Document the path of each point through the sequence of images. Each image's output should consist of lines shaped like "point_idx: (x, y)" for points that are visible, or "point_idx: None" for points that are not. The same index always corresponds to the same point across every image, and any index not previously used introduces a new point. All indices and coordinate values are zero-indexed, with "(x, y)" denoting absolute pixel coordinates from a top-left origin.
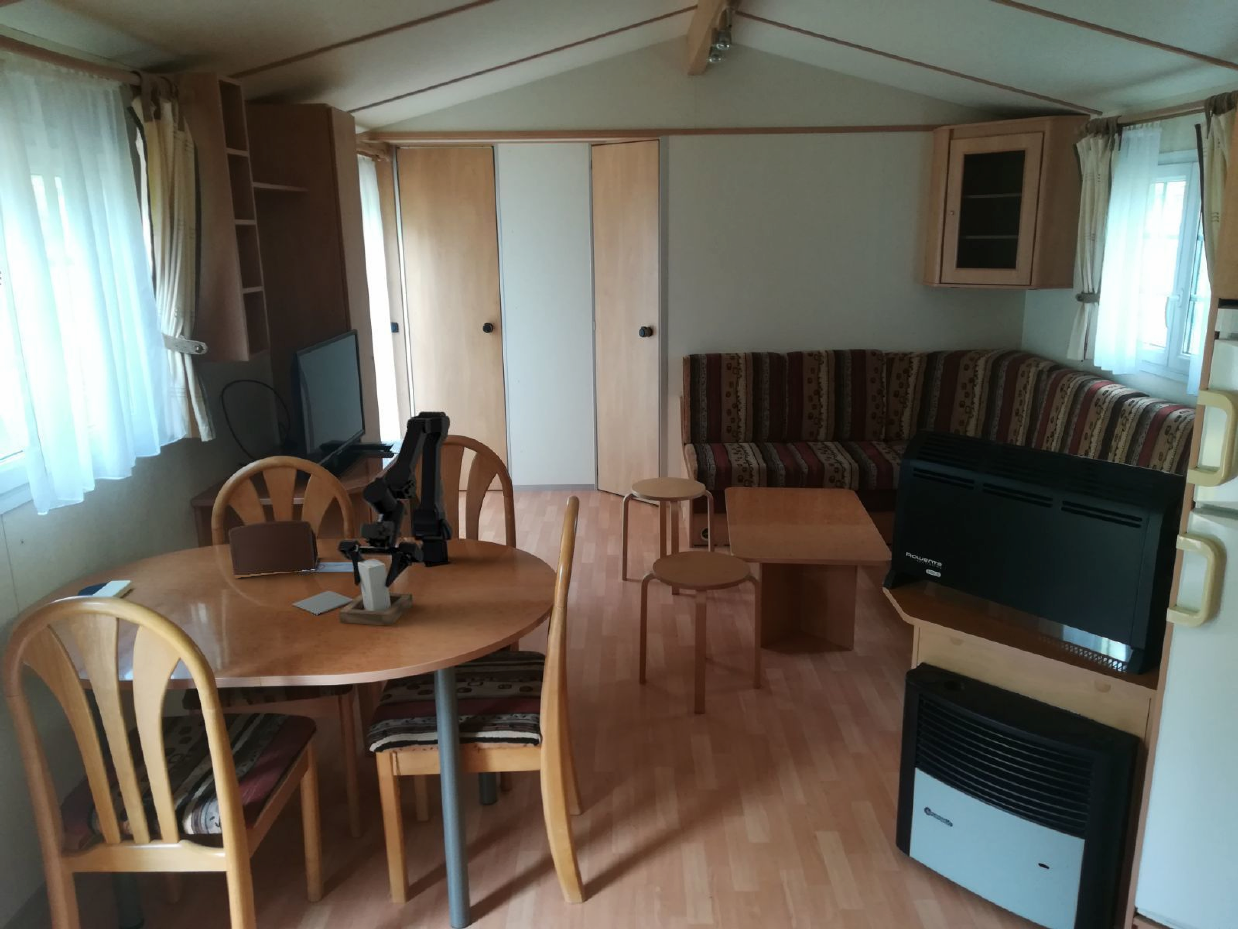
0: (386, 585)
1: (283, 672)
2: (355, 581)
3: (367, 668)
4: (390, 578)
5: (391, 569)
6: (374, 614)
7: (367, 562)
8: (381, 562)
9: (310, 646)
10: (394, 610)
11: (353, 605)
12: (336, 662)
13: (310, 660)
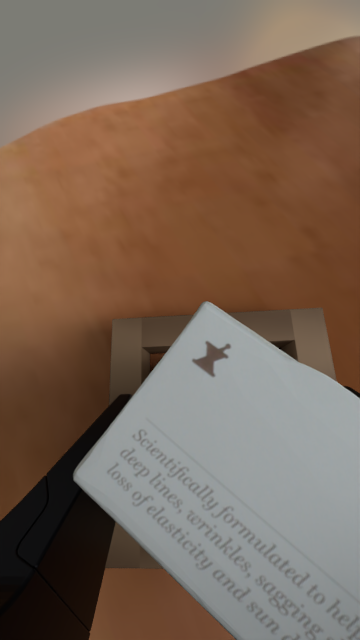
0: (122, 394)
1: (255, 69)
2: (354, 394)
3: (83, 120)
4: (90, 433)
5: (56, 492)
6: (172, 316)
7: (350, 502)
8: (152, 546)
9: (283, 171)
10: (111, 362)
11: None
12: (165, 124)
13: (232, 118)
